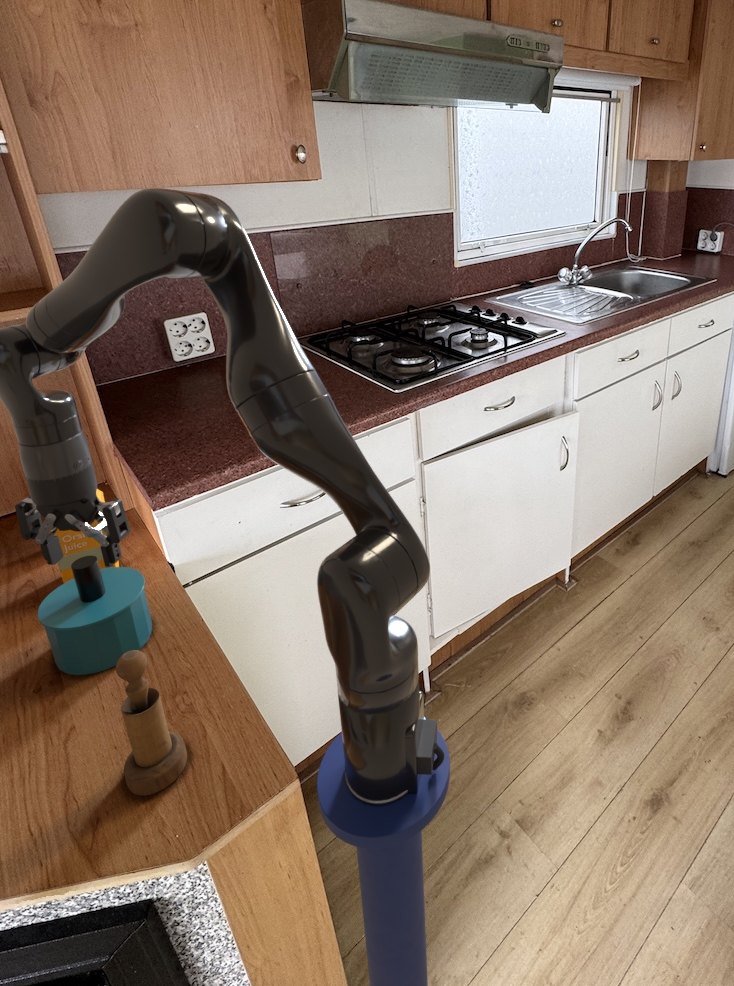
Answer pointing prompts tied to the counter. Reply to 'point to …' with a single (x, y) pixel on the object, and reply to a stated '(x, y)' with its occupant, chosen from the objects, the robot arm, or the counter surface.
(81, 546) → the orange juice
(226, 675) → the counter surface
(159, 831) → the counter surface
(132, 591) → the lid
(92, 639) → the pot
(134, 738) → the mortar and pestle
